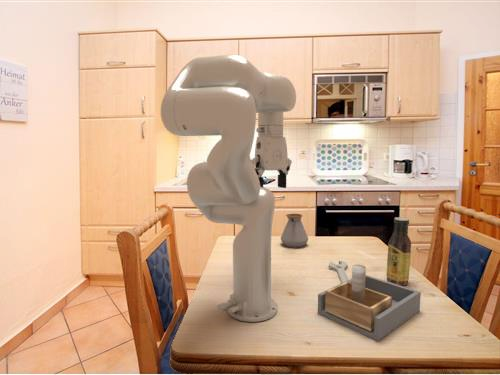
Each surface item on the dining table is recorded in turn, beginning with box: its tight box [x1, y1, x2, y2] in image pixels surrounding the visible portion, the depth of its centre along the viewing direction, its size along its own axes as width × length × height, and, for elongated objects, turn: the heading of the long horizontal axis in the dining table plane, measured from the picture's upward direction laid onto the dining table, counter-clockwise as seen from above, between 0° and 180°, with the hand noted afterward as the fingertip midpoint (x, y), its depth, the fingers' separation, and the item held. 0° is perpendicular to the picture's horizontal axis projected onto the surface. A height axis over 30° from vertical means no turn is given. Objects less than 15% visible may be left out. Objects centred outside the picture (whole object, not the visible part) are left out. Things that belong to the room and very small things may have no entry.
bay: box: [317, 274, 422, 342], centre depth 83 cm, size 20×16×5 cm
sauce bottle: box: [386, 216, 412, 286], centre depth 100 cm, size 7×6×20 cm
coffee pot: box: [280, 213, 309, 249], centre depth 135 cm, size 21×12×15 cm, turn 168°
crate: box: [325, 264, 392, 331], centre depth 79 cm, size 9×12×12 cm
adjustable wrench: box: [328, 260, 350, 284], centre depth 105 cm, size 25×6×2 cm, turn 169°
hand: (270, 188), depth 102 cm, fingers open, 9 cm apart
